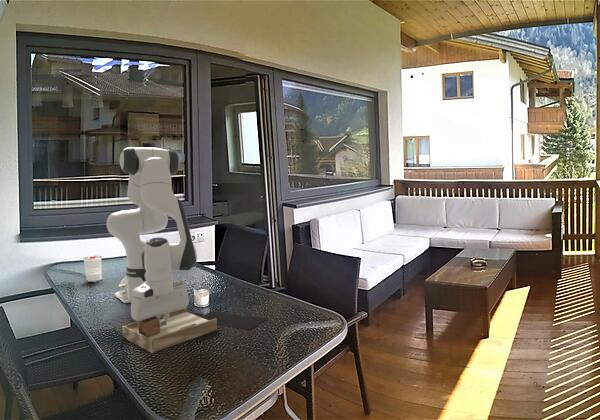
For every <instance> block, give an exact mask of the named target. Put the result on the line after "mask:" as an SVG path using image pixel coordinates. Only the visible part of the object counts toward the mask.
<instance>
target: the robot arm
mask: <svg viewBox="0 0 600 420" xmlns="http://www.w3.org/2000/svg"><path fill="white" fill-rule="evenodd" d="M119 165H120V166H119V167H120V168H121V171H122V172H123V173H124V174H126V175H129V177H128V186H127V198H128V200H129V201H130V202H131V203H133V204H134V205H135V206H136V205H137V206H138V207H137V208H134V209H125V210H119V211H116V212H112V213H110V214H109V215H108V217H107V219H106V228H107V229H106V230H107V231H108V233H109V234H110V235H111V236H113V237H114V238H116V239H118V241H119V242H120V243H121V244H122V246H123V248H124V250H125V255H126V262H127V266H126V267H125V268H126V269H125V277H123V279H122V280H120V282H119V285H117V287H118V288H117V289H118V290H119V291H116V292H115V293H114V297H116V298H117V299H118V298H119V299H120V300H121V301H122V302H123V304H128V303H129V304H130V315H131V318H132V319H133V320H134V321H135V322H138V321H141V320H144V319H147V318H151V317H157V318H160V315H161V314H164V317H163V320H160V319H159V324H160V327H162V326H165V325H167V320H168V318H169V316H170V312H171V311H175V310H178V309H182V308H185V307H187V308H188V306H189V304H190V300H189V299H190V298H189V294H188V285H187V283H186V282H185V281H183V280H180V281H178V282H177V281H176V282H174V276H173V273H172V271H190V270H192V268H193V267H195V265H197V262H198V253H197V249H196V248H195V247H196V246H195V244H194V243H193V239H192V234H191V230H190V226H189V222H188V218H187V214H186V211H185V207H184V204H183V201H182V200H181V199H180V198H177V197H176V195H175V194H174V191H173V186H172V184H173V183H172V176H175V175H176V173H178V171H179V168H180V158H179V154H178V153H177V152H176V151H175V150H172V149H169V148H168V149H167V148H166V149H165V148H159V147H134V146H130V147H125V148H124V149H122V151H121V153H120V156H119ZM168 216H169V217H170V218H172V219H174V221H175V223H176V226H177V231H178V235H179V238H180V241H179V242H176V243H175V242H173V243H169V240H168V239H167V238H166V237H165V238H164V237H153V238H149V239H148V240H146V241H142V240H141V237H140V235H145V234H146V235H147V234H153V233H154V234H155V233H158V232H160V231H162V230H164V229H165V228H166V227H167V225H168V223H169V222H168V221H169V218H168ZM119 299H118V300H119ZM120 300H119V301H120ZM121 301H120V302H121ZM122 302H121V303H122Z"/></svg>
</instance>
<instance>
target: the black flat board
mask: <svg viewBox="0 0 600 420" xmlns="http://www.w3.org/2000/svg"><path fill="white" fill-rule="evenodd" d="M192 314H193V315H196V316H199V317H201V318H204V319H206V320H212V319H215V318H216V319H217V326H222V327H228V328H229V327H230V328H233V329H234V328H235V329H240V330H246V331H251V330H253V329H255V328H256V327H258V326H260V325H261V324H263V323H264V322H266V321H267V320H268V319H269V318H266V317H261V316H251V315H250V316H248V315H240V314H233V313H224V312H221V311H211V310H210V311H209V312H207V313H205V314H204V313H200V312H196V313H192Z"/></svg>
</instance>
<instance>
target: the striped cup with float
mask: <svg viewBox="0 0 600 420" xmlns="http://www.w3.org/2000/svg"><path fill="white" fill-rule="evenodd" d="M83 262H84V271H85V277H86V281H87V280H88V281H96V280H101V279H102V280H103V267H102V266H103V265H102V255H90V256H86V257H85V256H84V257H83Z"/></svg>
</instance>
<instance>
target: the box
mask: <svg viewBox="0 0 600 420" xmlns="http://www.w3.org/2000/svg"><path fill="white" fill-rule="evenodd" d="M163 317H164V314H161V315H160V318H159V319H160V320H163ZM121 329H122V330H121V331H122V338H123V337H124V338H123V339H125V338H126V340H127V341H129V342H130V343H132V344H134V345H136V346H138V347H140V348H142V349H144V350H146V351H147V352H150V354H153V353H156V352H159V351H162V350H164V349H167V348H170V347H173V346H175V345H179V344H182V343H184V342H187V341H189V340H192V339H195V338H198V337H200V336H201V337H202V336H204V335H206V334H207V335H208V334H209V333H212V332H215V331H218V325H217V319H216V318H215V319H212V320H206V319H204V318H201V317H199V316H196V315H193V313H190V312H188V306H187V307H184V308H181V309H177V310H174V311H171V312H170V316H169V318H168V320H167V325H165V326H162V327H160V333H158V334H155V335H153V336H150V337H146V336H144V335H142V334H140V333H139V328H138V321H135V322H132V323H127V324H125V325H122V326H121Z"/></svg>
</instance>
